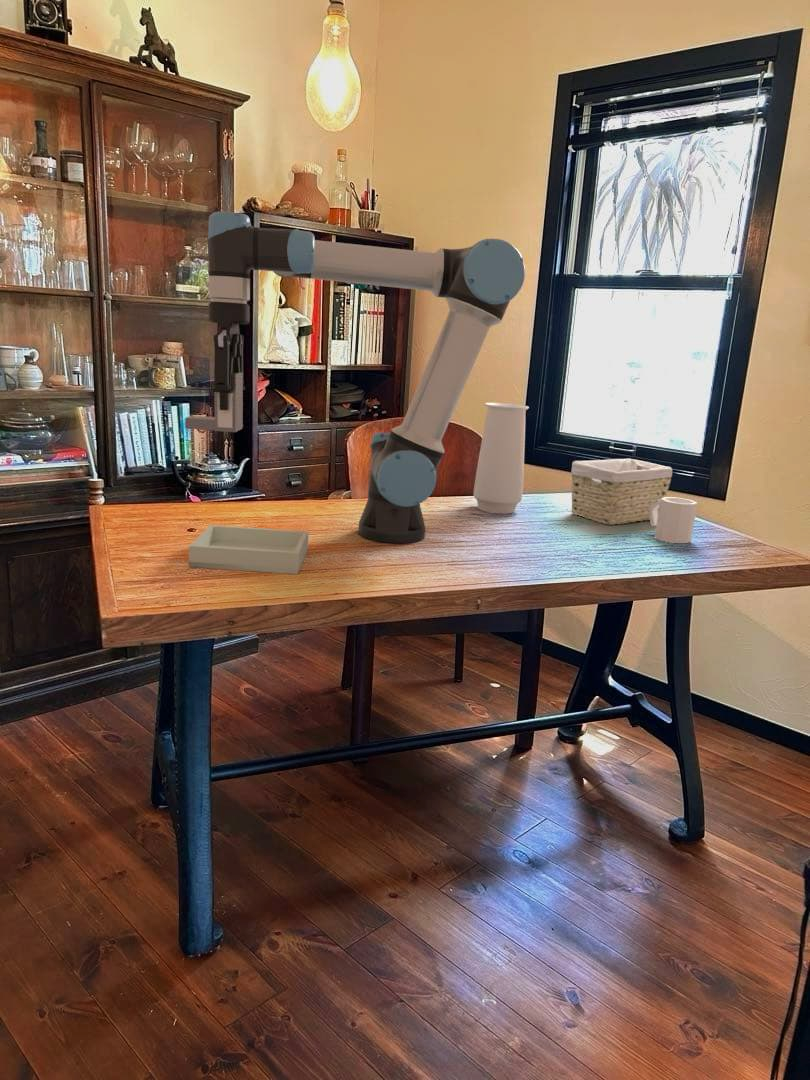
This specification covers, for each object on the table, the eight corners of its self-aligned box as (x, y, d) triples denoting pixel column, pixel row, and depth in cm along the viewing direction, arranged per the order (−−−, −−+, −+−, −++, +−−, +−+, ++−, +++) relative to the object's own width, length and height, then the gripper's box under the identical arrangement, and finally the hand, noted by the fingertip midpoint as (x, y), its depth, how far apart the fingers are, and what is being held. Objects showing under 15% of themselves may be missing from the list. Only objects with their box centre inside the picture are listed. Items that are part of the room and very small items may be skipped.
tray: (307, 550, 157) (308, 531, 156) (297, 574, 142) (298, 553, 141) (209, 543, 157) (209, 524, 156) (188, 567, 141) (188, 546, 140)
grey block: (242, 428, 153) (242, 372, 151) (235, 432, 148) (235, 373, 145) (192, 425, 153) (191, 369, 151) (183, 429, 148) (182, 370, 145)
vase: (473, 502, 215) (483, 401, 207) (520, 507, 213) (531, 405, 206) (470, 512, 202) (481, 405, 195) (520, 517, 201) (532, 409, 193)
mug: (697, 542, 188) (704, 503, 185) (674, 545, 183) (681, 505, 181) (658, 530, 197) (664, 493, 195) (635, 533, 193) (641, 494, 190)
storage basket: (607, 527, 197) (616, 471, 193) (562, 513, 210) (569, 459, 206) (667, 520, 210) (676, 467, 206) (621, 507, 223) (629, 457, 219)
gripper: (222, 302, 153) (222, 418, 159) (194, 298, 135) (196, 430, 141) (259, 304, 153) (258, 420, 159) (237, 300, 135) (237, 432, 141)
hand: (229, 424), depth 150 cm, fingers closed on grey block, 6 cm apart
